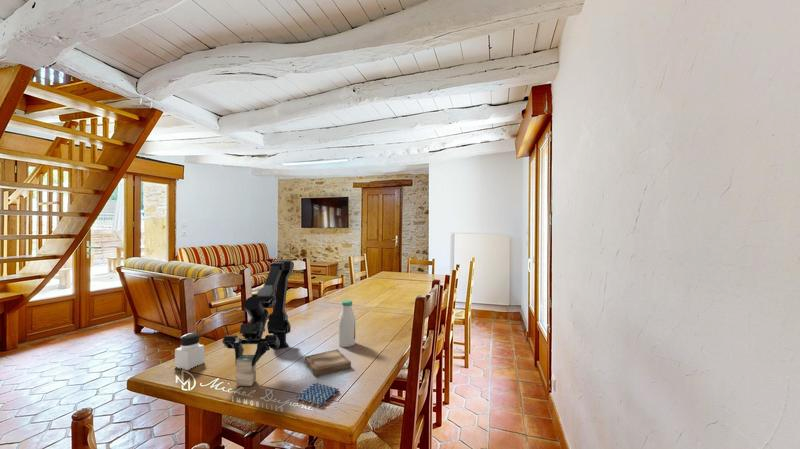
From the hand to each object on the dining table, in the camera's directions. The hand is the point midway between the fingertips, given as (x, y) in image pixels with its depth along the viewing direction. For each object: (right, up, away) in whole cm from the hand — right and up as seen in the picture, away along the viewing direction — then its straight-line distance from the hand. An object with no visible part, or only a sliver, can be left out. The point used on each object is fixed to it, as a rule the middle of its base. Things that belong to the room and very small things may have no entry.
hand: (244, 365), depth 110 cm
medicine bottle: (-29, -7, +15) cm, 33 cm away
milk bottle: (+29, -7, +38) cm, 48 cm away
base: (+25, -7, +16) cm, 30 cm away
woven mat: (+27, -8, -6) cm, 29 cm away
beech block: (0, -7, +1) cm, 7 cm away
